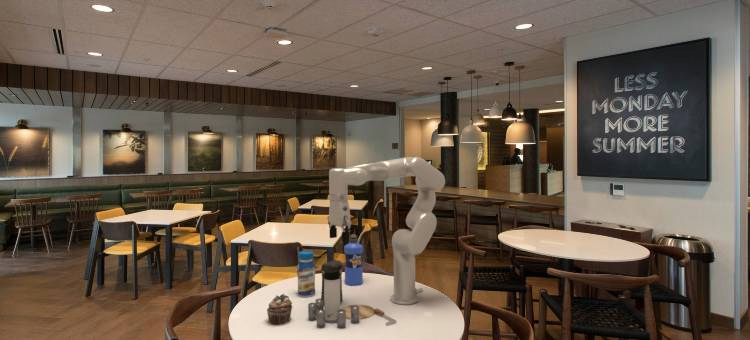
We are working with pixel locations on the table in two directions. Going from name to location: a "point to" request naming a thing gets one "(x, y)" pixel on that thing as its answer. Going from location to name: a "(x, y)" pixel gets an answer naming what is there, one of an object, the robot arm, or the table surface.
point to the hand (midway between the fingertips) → (339, 239)
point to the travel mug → (331, 295)
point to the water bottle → (353, 262)
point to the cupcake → (279, 310)
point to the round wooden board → (363, 311)
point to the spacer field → (319, 313)
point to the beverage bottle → (306, 274)
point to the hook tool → (385, 316)
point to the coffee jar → (328, 267)
